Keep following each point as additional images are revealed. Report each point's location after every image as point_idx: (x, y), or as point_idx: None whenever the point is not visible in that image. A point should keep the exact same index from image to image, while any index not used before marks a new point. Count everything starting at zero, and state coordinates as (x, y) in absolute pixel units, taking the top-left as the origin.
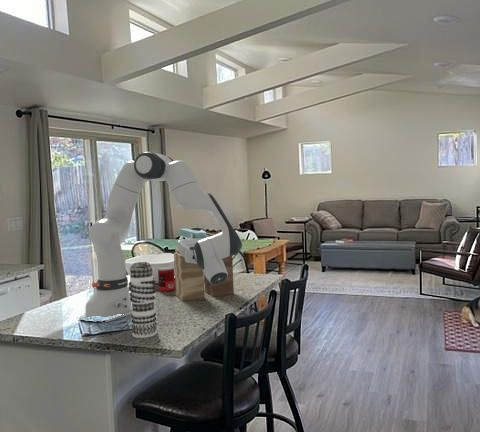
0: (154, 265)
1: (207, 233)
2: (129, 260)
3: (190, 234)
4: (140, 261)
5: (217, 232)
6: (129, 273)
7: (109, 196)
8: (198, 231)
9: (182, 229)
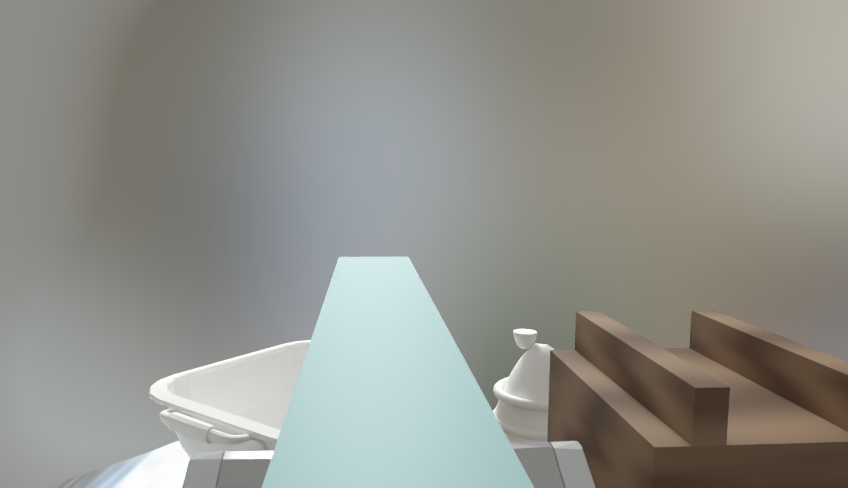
0: (270, 443)
1: (603, 327)
2: (215, 371)
3: (186, 475)
4: (286, 369)
5: (694, 317)
6: (182, 445)
7: None
8: (455, 364)
9: (342, 268)
